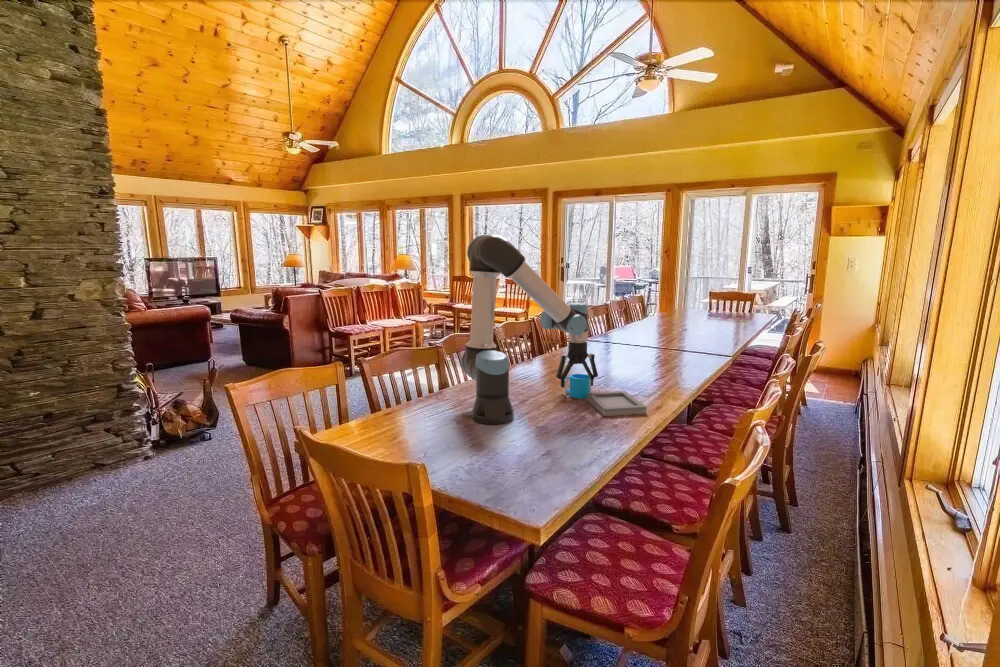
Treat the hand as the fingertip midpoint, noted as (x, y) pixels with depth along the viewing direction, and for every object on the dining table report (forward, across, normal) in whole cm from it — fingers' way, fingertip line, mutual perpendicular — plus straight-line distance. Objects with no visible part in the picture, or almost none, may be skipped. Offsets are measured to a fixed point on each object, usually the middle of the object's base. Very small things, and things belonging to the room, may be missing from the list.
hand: (576, 394), depth 205 cm
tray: (0, +10, -17) cm, 20 cm away
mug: (0, -1, 0) cm, 1 cm away
